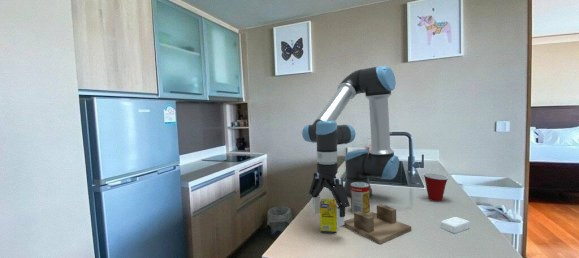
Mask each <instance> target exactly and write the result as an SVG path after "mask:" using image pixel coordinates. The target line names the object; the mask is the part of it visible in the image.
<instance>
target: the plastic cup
mask: <svg viewBox="0 0 579 258" xmlns="http://www.w3.org/2000/svg"><path fill="white" fill-rule="evenodd" d="M423 177H424V182H425V186H426V191H427V197H428V199H429V200H430V201H434V202H442V201H443V200H444V199H443V198H444V194H445V190H446V185H447V182H448V180H449V179H450V178H449V176H448V175H444V174H440V173H436V172H435V173H433V172H425V173H423Z"/></svg>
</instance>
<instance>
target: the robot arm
mask: <svg viewBox="0 0 579 258" xmlns="http://www.w3.org/2000/svg"><path fill="white" fill-rule="evenodd" d="M396 83H397V82H396V76H395V74H394V71H393V69H392V68H391V67H390V66H387V65H381V66H380V65H379V66H374V67H369V68H362V69H357V70H355V71H353V72H351V73H350V74H349V75H347V76H346V77H345V78H343V80H342V81H341V82H340V83H339V85H338V86H337V91H335V93H334V94H333V96H332V97H331V99H330V100H329V101H328V103H327V104H326V105H325V107H324V108H323V109H322V111H321V112H320V113H319V115H318V116H317V117H316V119H315V120H314V121H313V123H312V124H309V125H308V124H307V125H305V126H304V127H303V128H302V131H301V134H302V139H303V141H305V142H308V143H313V144H314V143H315V144H316V161H317V164H316V172H313V179H312V181H311V182H312V183H311V185H310V189H309V192H308V193H309V195H311V197H312V205H313V215H320V202H321V195H320V194H321V192H322V191H323V189H324V188H326V189H328V190H329V192H330V193H332V196H333V199H335V200H336V202H337V227H343V226H342V225H344V221H345V217H346V208H348V207H351V203H350V201H349V198H351V183H354V182H364V183H368V184H369V197H372V196H373V189H372V187H371V184H370V183H371V182H370V180H369V177H371V178H378V179H382V180H393V179H394V178H395V177H397V174H398V172H399V168H400V159H399V156H398V155H395V151H394V149H392V148H391V137H390V135H391V134H390V115H389V98H390V96H391V95H392V91H394V89H396ZM359 94H364V95H365V98H366V99H368V105H369V108H368V109H369V122H370V124H369V125H370V138H371V140H370V141H371V148H370V150H367V149H359V150H353V151H348V152H346V154H345V159H344V160H345V183H344V180H343V178H341V177H339V178H337V176H336V175H337V173H339V172H338V170H339V169H338V166H339V165H338V163H337V162H338V145H347V144H350V143H352V142H353V141H354V140H355V138H356V135H357V134H356V131H355V128H354V127H353V126H352V125H350V124H338V123H337V120H338V118H339V117H340V115H341V114H342V112H343V111H344V110H345V108H346V106H347V105H348V104H349V102H350V101H351V100H353V99H354V98H355V97H356V95H359Z"/></svg>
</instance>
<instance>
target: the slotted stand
mask: <svg viewBox="0 0 579 258" xmlns="http://www.w3.org/2000/svg"><path fill="white" fill-rule="evenodd" d="M344 226H345V228H346V227H347V228H346V229H348V228H349V230H350V229H351V230H350V231H352V232H354V231H355V233H356V232H357V233H356V234H358V235H360V234H361V236H362V235H363V237H364V236H365V237H364V238H366V237H367V239H368V238H369V240H370V239H371V240H370V241H372V240H373V242H374V241H375V242H374V243H377V244H378V243H379V245H381V244H382V245H383V244H384V243H387V242H389V241H391V240H393V239H396V238H399V237H400V236H402V235H405V234H408V233H409V232H411V231H412V226H411V225H409V224H405V223H403V222H402V221H401V222H400V221H398V220H397V209H396V208H394V207H391V206H388V205H385V204H377V205H376V212H374V211H370V212H369V213H366V214H365V213H362V212H360V211H358V212H354V213H353V217H352V218H349V219H344V225H342V226H341V227H344ZM386 241H387V242H386Z"/></svg>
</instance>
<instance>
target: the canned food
mask: <svg viewBox="0 0 579 258" xmlns="http://www.w3.org/2000/svg"><path fill="white" fill-rule="evenodd" d="M370 197H371V196H370ZM370 197H369V184H368V183H364V182H354V183H351V197H350V211H351V213H353V214H354V212H358V211H360V212H362V213H365V214H366V213H369V212H371V207H370V206H371V203H370V202H371V201H370V199H371V198H370Z"/></svg>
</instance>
